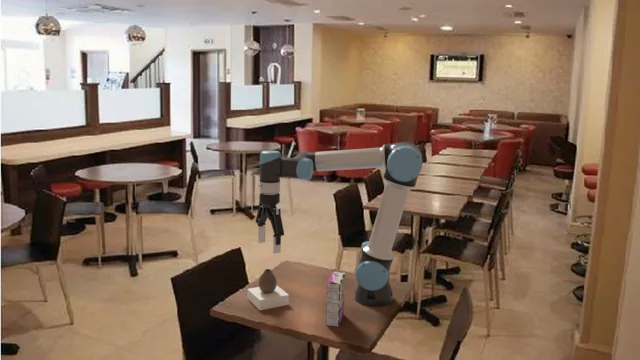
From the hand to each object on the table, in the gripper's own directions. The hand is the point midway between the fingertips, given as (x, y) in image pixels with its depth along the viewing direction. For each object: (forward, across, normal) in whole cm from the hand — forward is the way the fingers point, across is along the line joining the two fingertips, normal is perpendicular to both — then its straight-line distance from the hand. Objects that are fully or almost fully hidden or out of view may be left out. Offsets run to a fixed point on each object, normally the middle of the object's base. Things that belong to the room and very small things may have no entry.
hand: (269, 247), depth 218 cm
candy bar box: (+22, +25, +15) cm, 36 cm away
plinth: (+22, 0, 0) cm, 22 cm away
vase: (+18, 0, 0) cm, 18 cm away
